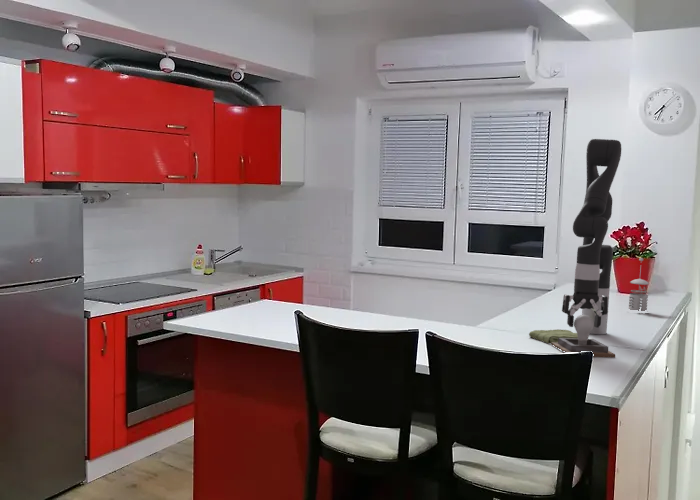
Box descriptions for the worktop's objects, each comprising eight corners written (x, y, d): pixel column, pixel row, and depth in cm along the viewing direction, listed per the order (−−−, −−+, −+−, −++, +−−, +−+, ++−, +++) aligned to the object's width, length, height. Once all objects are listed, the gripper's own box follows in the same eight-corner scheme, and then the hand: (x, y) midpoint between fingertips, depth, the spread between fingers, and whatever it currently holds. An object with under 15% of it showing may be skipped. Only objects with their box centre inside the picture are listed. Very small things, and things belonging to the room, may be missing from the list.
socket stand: (551, 345, 234) (551, 336, 234) (594, 346, 235) (595, 337, 234) (568, 356, 218) (569, 346, 218) (615, 357, 219) (615, 348, 218)
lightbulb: (571, 348, 224) (574, 315, 224) (572, 345, 230) (574, 312, 229) (591, 351, 222) (594, 317, 221) (592, 347, 228) (594, 314, 227)
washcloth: (591, 343, 242) (591, 334, 241) (549, 345, 235) (549, 336, 235) (566, 336, 254) (567, 327, 254) (526, 337, 247) (526, 329, 247)
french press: (645, 311, 322) (649, 257, 320) (653, 315, 310) (657, 259, 308) (623, 309, 323) (627, 256, 321) (630, 314, 311) (634, 258, 309)
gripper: (603, 276, 229) (600, 325, 230) (561, 275, 228) (558, 324, 229) (613, 279, 221) (609, 329, 222) (569, 278, 220) (566, 328, 222)
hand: (583, 326), depth 226 cm, fingers open, 8 cm apart
